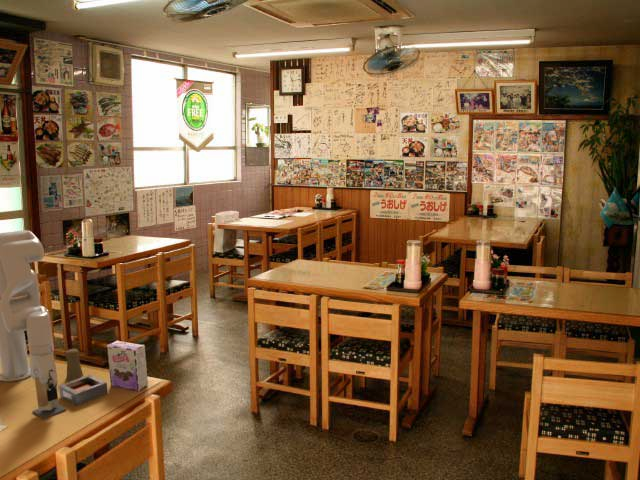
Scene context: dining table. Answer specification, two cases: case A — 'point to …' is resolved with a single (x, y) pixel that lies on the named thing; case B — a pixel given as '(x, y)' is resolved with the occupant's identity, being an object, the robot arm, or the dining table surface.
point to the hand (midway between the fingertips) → (47, 396)
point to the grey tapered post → (73, 364)
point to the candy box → (127, 365)
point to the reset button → (82, 387)
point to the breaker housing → (84, 395)
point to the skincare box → (44, 396)
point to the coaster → (49, 411)
